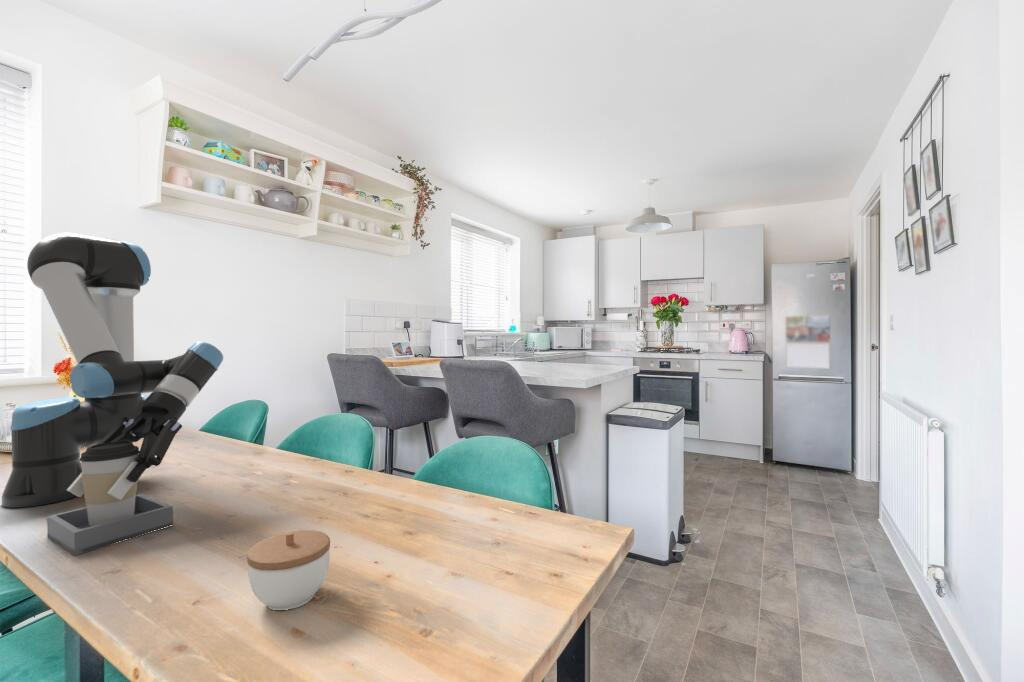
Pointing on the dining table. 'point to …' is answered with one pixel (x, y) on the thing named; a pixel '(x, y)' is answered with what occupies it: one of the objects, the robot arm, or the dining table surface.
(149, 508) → the tray
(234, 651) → the dining table surface
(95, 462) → the coffee cup
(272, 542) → the lidded jar
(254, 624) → the dining table surface
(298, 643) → the dining table surface
